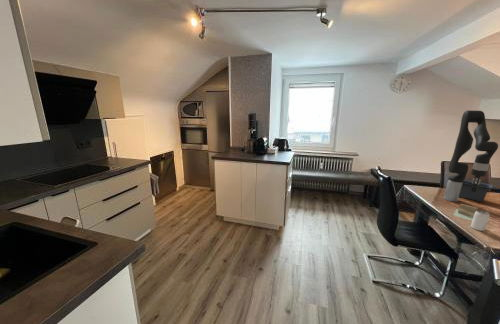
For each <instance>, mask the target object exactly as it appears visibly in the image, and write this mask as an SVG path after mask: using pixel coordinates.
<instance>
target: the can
mask: <svg viewBox="0 0 500 324" xmlns="http://www.w3.org/2000/svg"><path fill="white" fill-rule="evenodd" d="M489 219H490V213H489V212H488V211H485V210H482V209H477V211H476V212H475V214H474V217H473V220H472V221H471V224H470V227H471V228H472V229H473V230H476V231H479V232H484V231H485V232H486V228H487V226H488V222H489Z"/></svg>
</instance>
